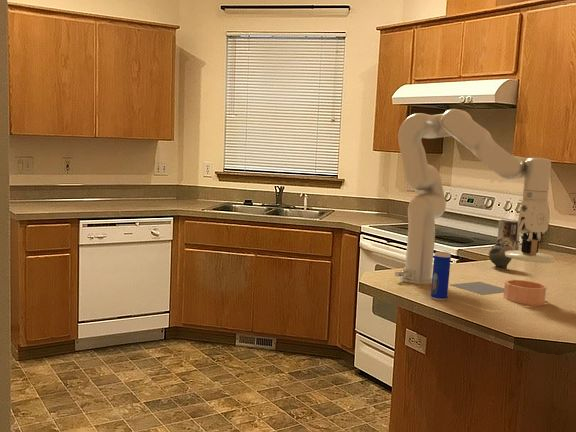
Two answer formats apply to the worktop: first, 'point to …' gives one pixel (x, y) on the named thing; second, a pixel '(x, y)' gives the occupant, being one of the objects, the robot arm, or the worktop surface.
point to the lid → (530, 254)
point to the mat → (480, 288)
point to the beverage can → (440, 275)
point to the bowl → (525, 292)
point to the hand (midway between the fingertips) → (529, 251)
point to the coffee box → (509, 233)
